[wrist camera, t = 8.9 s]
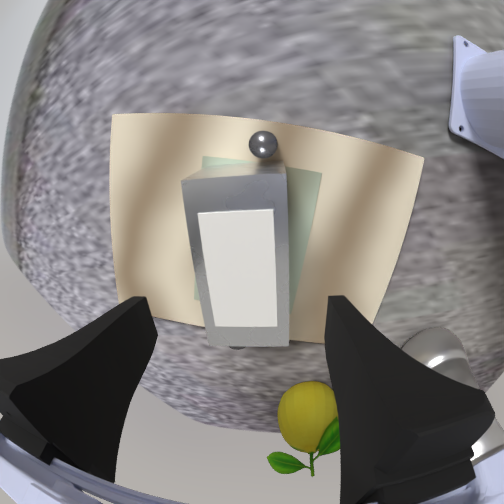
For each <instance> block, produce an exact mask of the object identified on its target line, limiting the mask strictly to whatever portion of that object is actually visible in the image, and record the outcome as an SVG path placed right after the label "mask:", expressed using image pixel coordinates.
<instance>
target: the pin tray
mask: <svg viewBox="0 0 504 504" xmlns="http://www.w3.org/2000/svg"><path fill="white" fill-rule="evenodd" d="M270 161H283V162H284V166H285V170H286V176H287V202H288V237H289V340H296V341H305V342H315V343H325V340H324V334H325V325H326V315H327V304H328V296H334V295H344V296H345V297H346V298H347V299H348V300H349V301H350V302H351V303H352V304H353V305H354V306H355V307H356V308H357V309H358V311H359V312H360V313H361V314H362V315H363V316H364V317H365V318H366V319H367V320H368V321H369V322H370V323H371V324H372V323H373V321H374V319H375V316H376V314H377V311H378V309H379V307H380V304H381V302H382V299H383V297H384V294H385V292H386V289H387V286H388V284H389V281H390V278H391V276H392V273H393V270H394V267H395V264H396V262H397V259H398V256H399V253H400V250H401V247H402V243H403V240H404V237H405V234H406V230H407V227H408V224H409V220H410V216H411V213H412V209H413V205H414V202H415V198H416V194H417V189H418V185H419V181H420V176H421V172H422V167H423V162H424V158H423V157H420V156H417V155H414V154H411V153H408V152H405V151H401V150H398V149H395V148H391V147H388V146H385V145H381V144H378V143H374V142H370V141H366V140H363V139H359V138H355V137H350V136H346V135H342V134H338V133H333V132H328V131H324V130H319V129H313V128H308V127H303V126H297V125H291V124H285V123H278V122H272V121H264V120H256V119H248V118H239V117H228V116H216V115H201V114H176V113H134V114H113V115H112V127H111V144H110V218H111V235H112V248H113V259H114V269H115V277H116V285H117V293H118V300H119V304H120V303H122V302H124V301H125V300H127V299H129V298H131V297H133V296H145V297H146V298H147V301H148V305H149V308H150V311H151V315H152V316H154V317H158V318H163V319H167V320H172V321H177V322H182V323H187V324H192V325H197V326H202V327H205V324H204V319H203V314H202V309H201V304H200V299H199V294H198V289H197V283H196V278H195V272H194V266H193V261H192V255H191V249H190V242H189V236H188V230H187V223H186V216H185V209H184V202H183V194H182V187H181V180H183V179H184V178H186V177H188V176H190V175H192V174H194V173H195V172H197V171H199V170H201V169H203V168H205V167H206V166H211V165H223V164H236V163H251V162H270ZM229 347H230V348H232V349H235V350H240V349H243V348H245V346H229Z"/></svg>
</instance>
